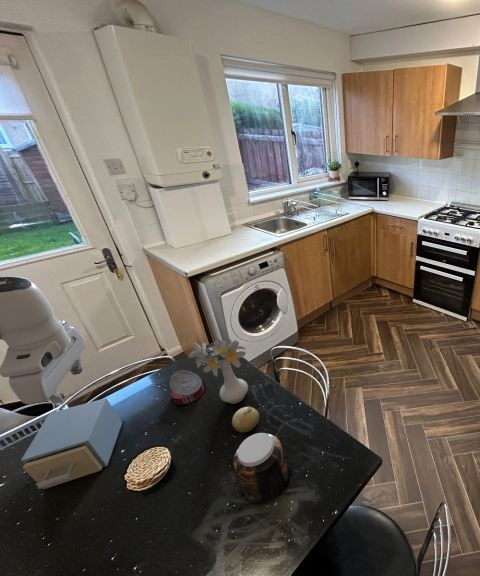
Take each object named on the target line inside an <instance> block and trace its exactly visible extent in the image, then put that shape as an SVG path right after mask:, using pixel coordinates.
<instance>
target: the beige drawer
mask: <svg viewBox="0 0 480 576" xmlns="http://www.w3.org/2000/svg"><path fill="white" fill-rule="evenodd" d="M34 460H35V461H32V462H29V463H26V464H23V466H22V469H23V470H24V471H25V472H26V473H27V474H28V475H29V476H30V478H31V479H33V480H34V481H35V482H36V483H37V489H38V490H42V489H43V490H46V489H50V488H52V487H55V486H58V485H61V484H64V483H67V482H70V481H73V480H76V479H79V478H82V477H85V476H89V475H91V474H95V473H97V472H100V471H102V469H103V468H102V465H101V464H100V462H99V461H98V459H97V458H96V457H95V455H94V454H93V453H92V452H91V450H90V449H89V448H88V446H87V445H86V444H83V445H79V446H76V447H73V448H69V449H66V450H63V451H59V452H56V453H53V454H49V455H46V456H43V457H39V458H36V459H34Z"/></svg>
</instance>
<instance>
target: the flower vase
mask: <svg viewBox="0 0 480 576" xmlns="http://www.w3.org/2000/svg"><path fill="white" fill-rule="evenodd" d="M225 338H226V339H224V340H222V341H221V340H220V339H216V340H215V341H214V342H213V346H209V347H207V343H206V342H202V343H201V344H200V345H199V344H198V343H197V342H196V341H195V342H192V348H193V349H194V351H190V353H188V355H187V357H188V358H189V359H194V358H195V365H197V366H196V367H197V368H199V367H202V365H203V364H205V366H204V367H203V369H202V370H203V372H204V373H209V372H210V371H211V372H212V374H213V375H214V376H215V377H218V376H219V371H218V369H220V370H221V372H222V376H223V380H224V382H223V384H222V386H221V387H220V389H219V398H220V400H222V401H223V402H225V403H229V404H232V405H233V404H238V403H240V402H242V401H243V400H244V399H245V397H246V395H247V393H248V391H249V385H248V383H247V381H246V380H244V379H243V378H238V377H237V376H236V375H235V373H234V370H233V368H232V366H231V364H232V365H233V366H234V368H237V369H239V368H240V367H241V361H240V360H239V359H241V358H244V357H245V355H246V352H245V351H243V350H246V349H247V348H246V347H244V346H241V345H240V343H239V342H238V340H233V341H232V340H231V338H230V337H229V336H227V335H226V337H225ZM227 342H228V344H227ZM237 350H239V351H237Z"/></svg>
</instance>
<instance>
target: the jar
mask: <svg viewBox="0 0 480 576" xmlns="http://www.w3.org/2000/svg"><path fill="white" fill-rule="evenodd" d="M232 463H233V464H232V465H233V469H234V470H233V471H234V472H235V475H236V478H237V480H238V483H239V485H240V488H241V490H242V493H243V495H244V496H245V498H246V499H247V500H248V501H249V502H251V503H255V504H263V503H267V502H269V501H271V500H273V499H275V498H276V497H277V496H279V494H281V492H282V491H284V489H285V487H287V484H288V482H289V476H290V472H289V466H288V463H287V459H286V456H285V451H284V449H283V446H282V443H281V441H280V439H279V438H278V437H277V436H276V435H273V434H271V433H265V432H258V433H254V434H252V435H250V436H248V437H246V438H245V439H244V440H243V441H242V442H241V443H240V445H239V447H238V448H237V450H236V451H235V453H234V455H233V460H232Z"/></svg>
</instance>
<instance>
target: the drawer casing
mask: <svg viewBox="0 0 480 576" xmlns="http://www.w3.org/2000/svg"><path fill="white" fill-rule="evenodd" d="M122 425H123V421H122V420H121V419H120V417H119V415H118V414H117V412H116V411H115V409H114V408H113V406H112V404H111V403H110V402H109V400H108V398H107V397H105V398H101V399H97V400H94V401H90V402H86V403H82V404H78V405H75V406H72V407H68V408H63V409H60V410H56V411H52V412H49V414H48V415H47V416H46V418H45V420H44V421H43V423H42V425H41V426H40V427H39V430H38V431H37V433H36V434H35V436H34V437H33V440H32V441H31V443H30V445H29V446H28V448H27V449H26V451H25V453H24V454H23V456H22V458H21V460H20V462H22V463H23V465H25V464H26V463H29V462H32V461H35V460H34V459H36V458H39V457H43V456H46V455H49V454H53V453H56V452H59V451H63V450H66V449H69V448H73V447H76V446H79V445H83V444H86V445H87V446H88V448H89V449H90V450H91V452H92V453H93V454H94V455H95V457H96V458H97V459H98V461H99V462H100V464H101V465H102V469H103V468H106V467H108V465H109V462H110V460H111V456H112V454H113V450H114V448H115V445H116V442H117V439H118V436H119V433H120V431H121V427H122Z"/></svg>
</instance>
